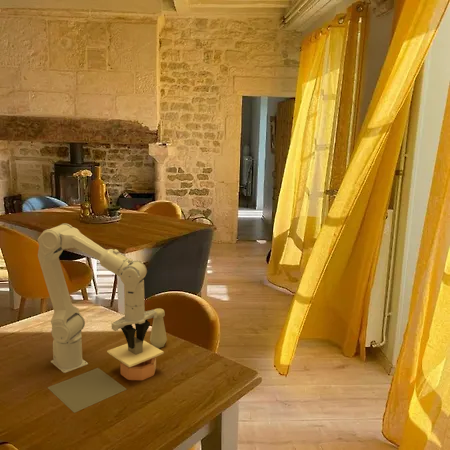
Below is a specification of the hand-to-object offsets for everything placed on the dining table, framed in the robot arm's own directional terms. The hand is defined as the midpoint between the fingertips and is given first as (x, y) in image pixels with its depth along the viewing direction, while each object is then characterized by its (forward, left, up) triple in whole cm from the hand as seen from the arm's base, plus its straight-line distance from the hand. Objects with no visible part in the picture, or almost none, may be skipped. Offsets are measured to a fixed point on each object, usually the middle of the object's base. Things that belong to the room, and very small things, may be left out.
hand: (135, 345), depth 136 cm
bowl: (0, +1, -9) cm, 9 cm away
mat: (-2, -15, -9) cm, 18 cm away
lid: (0, 0, -2) cm, 2 cm away
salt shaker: (-10, +16, -9) cm, 21 cm away
